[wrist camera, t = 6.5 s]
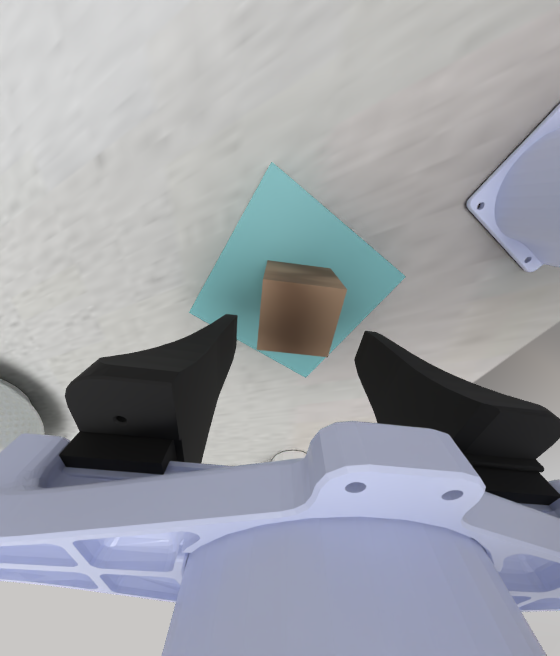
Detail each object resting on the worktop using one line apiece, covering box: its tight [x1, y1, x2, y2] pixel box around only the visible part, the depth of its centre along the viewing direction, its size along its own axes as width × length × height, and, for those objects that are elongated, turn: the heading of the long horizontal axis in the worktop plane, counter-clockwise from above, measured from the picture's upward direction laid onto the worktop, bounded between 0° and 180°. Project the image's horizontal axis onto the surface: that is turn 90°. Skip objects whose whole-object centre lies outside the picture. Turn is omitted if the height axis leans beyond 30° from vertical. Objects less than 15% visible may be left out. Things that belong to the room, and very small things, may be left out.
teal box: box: [189, 162, 406, 378], centre depth 20 cm, size 13×13×3 cm
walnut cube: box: [257, 260, 347, 357], centre depth 16 cm, size 5×5×5 cm
